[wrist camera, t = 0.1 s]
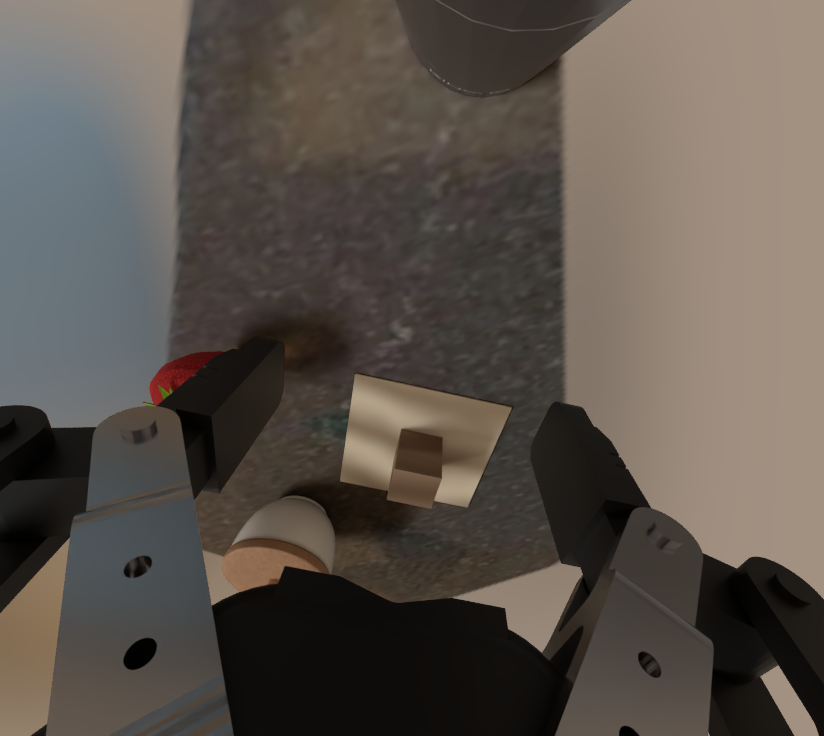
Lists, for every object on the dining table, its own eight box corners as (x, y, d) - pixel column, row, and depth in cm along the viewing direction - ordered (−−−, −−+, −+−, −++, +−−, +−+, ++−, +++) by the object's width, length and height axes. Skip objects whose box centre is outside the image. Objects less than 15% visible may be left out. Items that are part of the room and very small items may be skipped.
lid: (357, 368, 32) (340, 409, 27) (510, 402, 32) (522, 448, 27) (341, 475, 39) (326, 522, 34) (467, 501, 40) (469, 551, 35)
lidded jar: (361, 506, 41) (341, 593, 33) (325, 550, 46) (299, 635, 38) (272, 467, 39) (227, 550, 31) (244, 518, 44) (199, 601, 36)
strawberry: (285, 392, 33) (229, 478, 25) (203, 378, 33) (119, 459, 25) (282, 335, 30) (217, 410, 21) (192, 320, 30) (91, 389, 21)
